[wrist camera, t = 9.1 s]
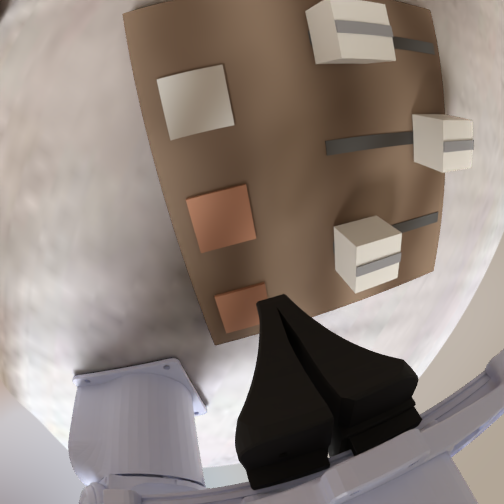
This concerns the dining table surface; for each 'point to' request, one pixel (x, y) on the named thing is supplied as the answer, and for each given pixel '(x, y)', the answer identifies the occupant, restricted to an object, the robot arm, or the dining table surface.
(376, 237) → the slider
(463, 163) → the slider middle
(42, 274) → the dining table surface
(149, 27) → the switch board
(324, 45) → the slider
